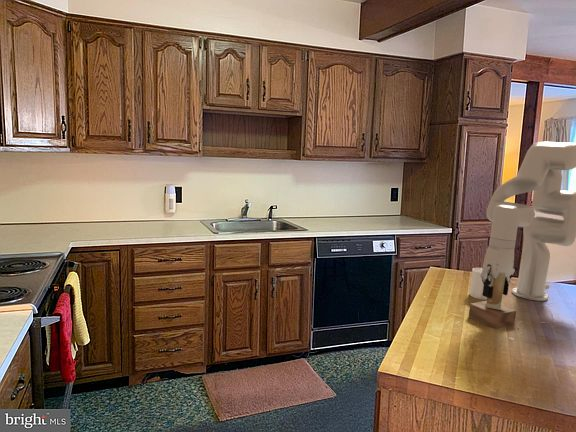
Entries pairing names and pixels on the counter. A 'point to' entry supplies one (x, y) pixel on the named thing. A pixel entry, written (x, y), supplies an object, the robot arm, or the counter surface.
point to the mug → (477, 284)
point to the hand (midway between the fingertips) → (494, 295)
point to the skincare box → (496, 293)
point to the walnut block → (492, 315)
